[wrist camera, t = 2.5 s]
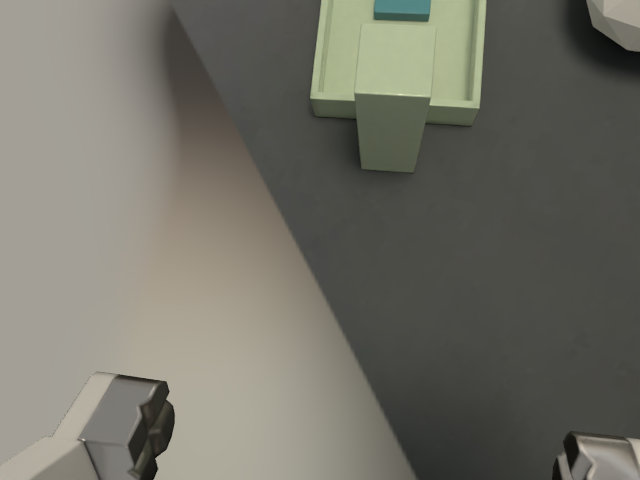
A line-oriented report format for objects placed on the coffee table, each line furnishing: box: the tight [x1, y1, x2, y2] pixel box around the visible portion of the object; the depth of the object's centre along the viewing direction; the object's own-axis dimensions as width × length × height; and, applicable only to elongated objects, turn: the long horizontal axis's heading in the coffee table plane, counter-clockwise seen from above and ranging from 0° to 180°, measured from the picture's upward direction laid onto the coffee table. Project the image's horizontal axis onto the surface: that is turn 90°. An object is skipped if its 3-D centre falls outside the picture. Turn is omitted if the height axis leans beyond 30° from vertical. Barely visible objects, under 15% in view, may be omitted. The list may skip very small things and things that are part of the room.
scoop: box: [310, 0, 487, 173], centre depth 27 cm, size 14×9×10 cm, turn 174°
